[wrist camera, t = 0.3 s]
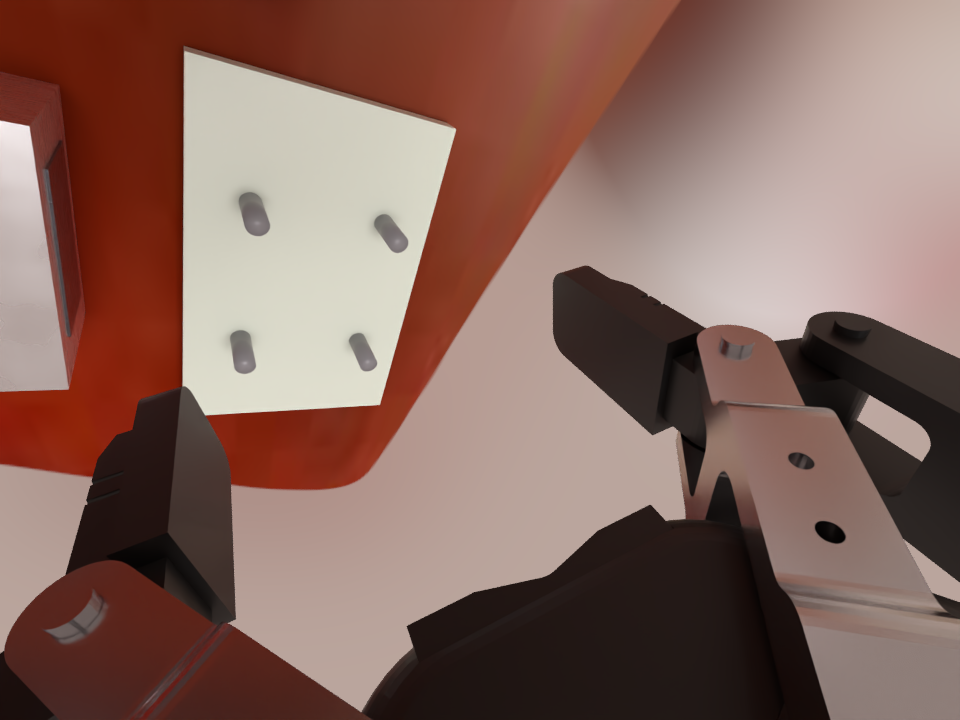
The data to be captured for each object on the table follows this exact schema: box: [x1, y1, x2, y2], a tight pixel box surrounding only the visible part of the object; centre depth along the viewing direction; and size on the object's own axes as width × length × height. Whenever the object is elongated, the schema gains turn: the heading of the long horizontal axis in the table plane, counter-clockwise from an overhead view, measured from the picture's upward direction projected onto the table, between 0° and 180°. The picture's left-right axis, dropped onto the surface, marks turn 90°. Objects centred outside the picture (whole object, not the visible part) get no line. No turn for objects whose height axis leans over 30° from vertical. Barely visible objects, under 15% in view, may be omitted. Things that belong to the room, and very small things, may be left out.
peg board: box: [182, 46, 456, 415], centre depth 30 cm, size 22×14×4 cm, turn 160°
